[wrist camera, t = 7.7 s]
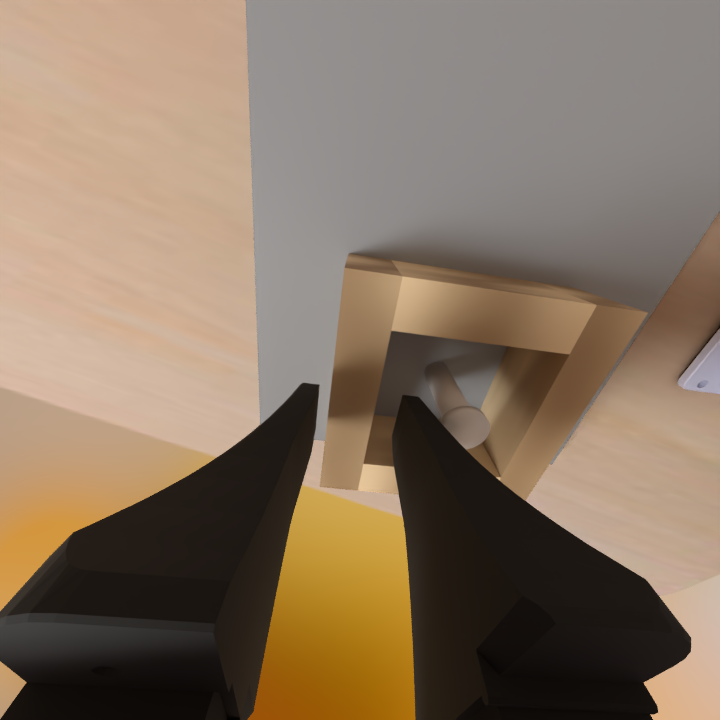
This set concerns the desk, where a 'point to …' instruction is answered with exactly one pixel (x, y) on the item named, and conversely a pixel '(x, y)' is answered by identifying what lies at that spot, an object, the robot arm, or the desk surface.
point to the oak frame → (477, 324)
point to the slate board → (471, 167)
